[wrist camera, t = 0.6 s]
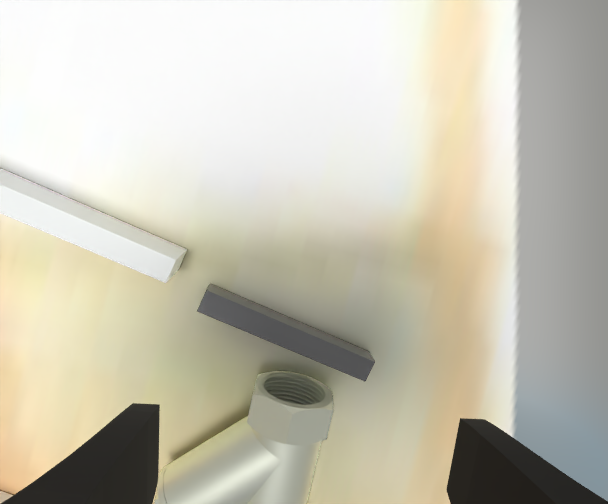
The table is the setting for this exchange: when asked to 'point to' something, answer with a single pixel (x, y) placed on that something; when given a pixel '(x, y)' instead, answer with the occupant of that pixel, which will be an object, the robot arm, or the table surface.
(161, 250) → the bracket
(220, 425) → the table surface
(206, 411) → the table surface
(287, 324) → the dark grey bars
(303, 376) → the pipe fitting
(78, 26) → the table surface
